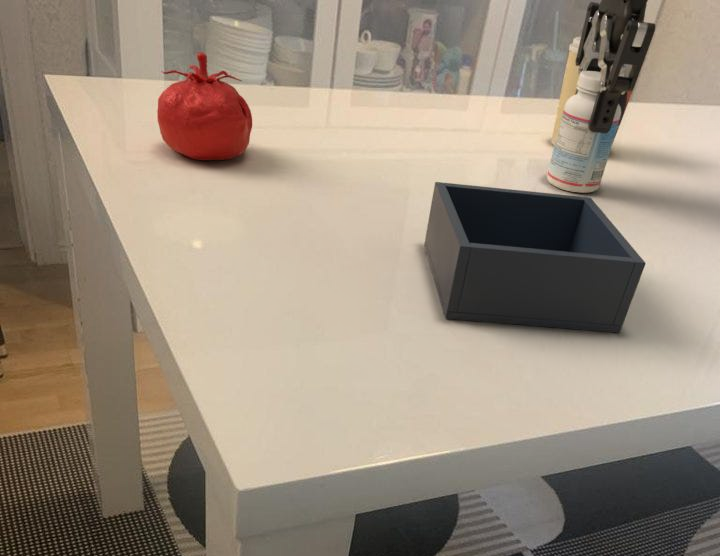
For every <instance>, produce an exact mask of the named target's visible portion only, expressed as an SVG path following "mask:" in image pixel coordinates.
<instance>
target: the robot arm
mask: <svg viewBox="0 0 720 556" xmlns="http://www.w3.org/2000/svg"><path fill="white" fill-rule="evenodd" d="M648 1H649V0H600V2H594V1H590V2H589V4H588V6H587V9H586V15H585V19H584V23H583V27H582V32H581V36H580V37H581V40H580V44H579V49H578V53H577V57H576V66H580V67H579V69H578V74H579V75H580V73H581V72H583V71H597V72H601V79H600V85H599V91H598V94H597V97H596V101H595V104H594V107H593V111H592V114H591V118H590V121H589V125H588V128H589V129H590V130H591V131H592V132H597V133H608V132H609V131H610V129H611V126H612V122H613V119H614V116H615V113H616V109H617V106H618V103H619V100H620V96H621V94H622V95H623V94H624V93H625V92H626V91H629V92H632V91H634V89H635V86H636V84H637V82H638V78H639V76H640V73H641V70H642V67H643V65H644V63H645V62H644V59H645V57H646V56H647V54H648V51H649V48H650V45H651V43H652V40H653V37H654V34H655V31H656V23H654V22H645V17H646V10H647V6H648V5H647V3H648ZM594 43H596V45H595V44H594ZM643 62H644V63H643ZM630 68H631V71H630V74H629V70H630ZM610 70H611V72H610ZM619 73H620V76H619ZM577 93H578V89H576V93H575V95H576V94H577ZM632 93H633V92H632Z"/></svg>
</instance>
